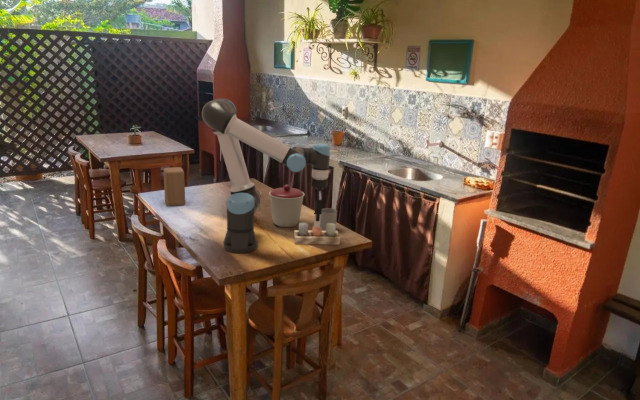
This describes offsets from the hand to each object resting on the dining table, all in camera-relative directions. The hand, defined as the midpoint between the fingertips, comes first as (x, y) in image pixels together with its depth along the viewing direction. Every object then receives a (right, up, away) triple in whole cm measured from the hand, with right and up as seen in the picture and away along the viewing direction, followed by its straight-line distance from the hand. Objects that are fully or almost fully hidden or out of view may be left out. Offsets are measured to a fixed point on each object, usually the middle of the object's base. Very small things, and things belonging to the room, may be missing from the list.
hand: (316, 226), depth 212 cm
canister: (-16, 0, +21) cm, 27 cm away
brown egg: (0, -5, +2) cm, 6 cm away
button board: (0, -7, +2) cm, 7 cm away
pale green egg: (+6, -4, +2) cm, 8 cm away
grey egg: (-6, -4, 0) cm, 7 cm away
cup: (+5, -3, +17) cm, 18 cm away
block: (-81, +10, +44) cm, 93 cm away
